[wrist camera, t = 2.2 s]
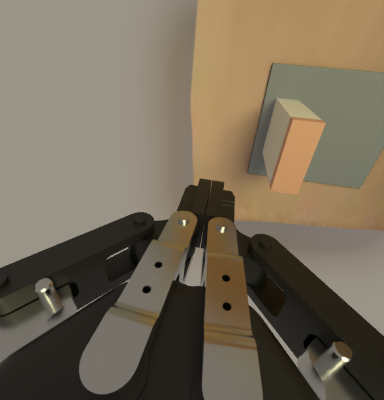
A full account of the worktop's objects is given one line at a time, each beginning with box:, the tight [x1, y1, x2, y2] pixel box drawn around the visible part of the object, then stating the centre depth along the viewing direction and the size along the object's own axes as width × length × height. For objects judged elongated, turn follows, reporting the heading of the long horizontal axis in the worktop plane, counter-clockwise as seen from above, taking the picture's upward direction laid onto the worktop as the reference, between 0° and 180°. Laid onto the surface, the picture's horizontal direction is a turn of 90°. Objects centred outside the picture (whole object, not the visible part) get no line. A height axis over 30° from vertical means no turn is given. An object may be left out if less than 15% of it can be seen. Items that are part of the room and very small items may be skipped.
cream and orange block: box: [262, 98, 326, 194], centre depth 28 cm, size 3×8×12 cm, turn 176°
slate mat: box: [248, 63, 384, 189], centre depth 33 cm, size 18×16×1 cm
